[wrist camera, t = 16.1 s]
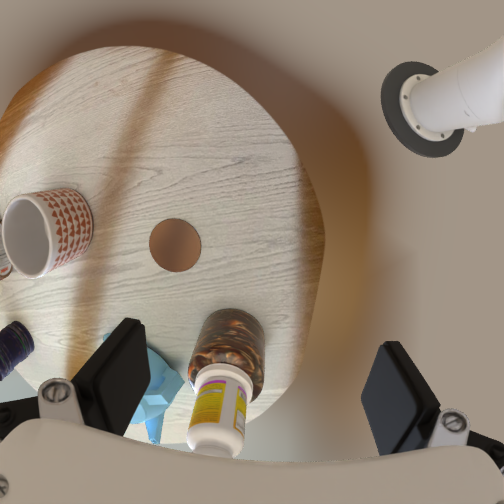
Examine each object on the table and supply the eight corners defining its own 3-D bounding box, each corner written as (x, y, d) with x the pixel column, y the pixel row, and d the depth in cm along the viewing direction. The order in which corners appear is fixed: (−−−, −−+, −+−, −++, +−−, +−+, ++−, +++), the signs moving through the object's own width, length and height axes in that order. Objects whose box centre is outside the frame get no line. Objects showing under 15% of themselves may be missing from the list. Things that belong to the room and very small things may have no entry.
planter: (68, 270, 49) (28, 293, 36) (35, 218, 46) (-7, 230, 34) (106, 229, 46) (64, 247, 34) (69, 172, 44) (23, 176, 31)
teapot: (97, 375, 55) (71, 412, 42) (111, 315, 51) (76, 352, 37) (169, 412, 57) (154, 455, 44) (197, 359, 52) (181, 407, 39)
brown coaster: (202, 221, 45) (202, 221, 45) (199, 274, 48) (199, 275, 47) (150, 216, 45) (149, 216, 45) (150, 267, 48) (149, 268, 47)
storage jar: (8, 315, 53) (-26, 340, 39) (30, 327, 53) (-5, 356, 39) (15, 344, 56) (-16, 371, 41) (37, 357, 56) (7, 387, 42)
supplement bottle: (192, 395, 36) (171, 464, 24) (212, 366, 35) (193, 442, 22) (233, 413, 37) (224, 484, 25) (256, 387, 36) (253, 463, 23)
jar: (189, 340, 51) (168, 393, 37) (223, 296, 48) (208, 344, 34) (241, 371, 53) (235, 428, 38) (278, 332, 50) (283, 387, 35)
